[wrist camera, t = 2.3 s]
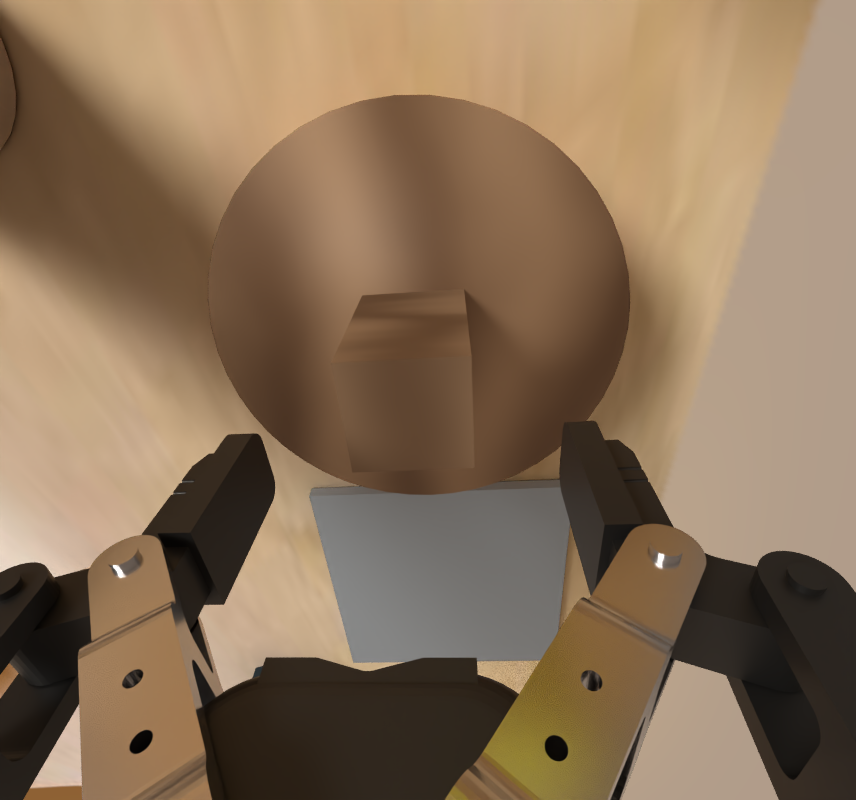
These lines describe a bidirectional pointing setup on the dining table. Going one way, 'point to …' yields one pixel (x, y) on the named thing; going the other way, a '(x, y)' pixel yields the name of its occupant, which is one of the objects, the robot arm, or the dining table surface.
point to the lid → (418, 294)
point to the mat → (446, 570)
